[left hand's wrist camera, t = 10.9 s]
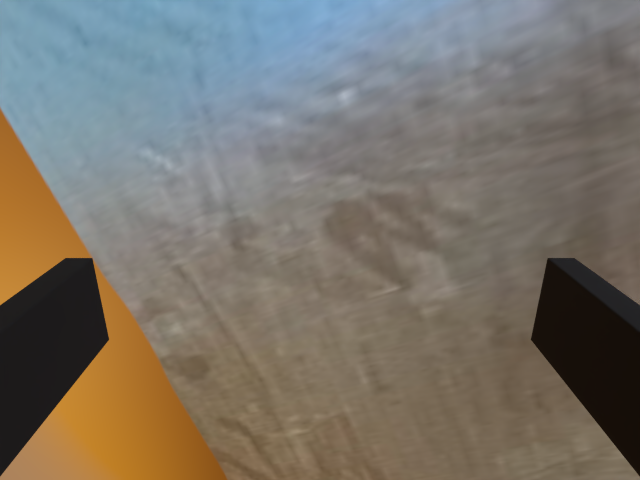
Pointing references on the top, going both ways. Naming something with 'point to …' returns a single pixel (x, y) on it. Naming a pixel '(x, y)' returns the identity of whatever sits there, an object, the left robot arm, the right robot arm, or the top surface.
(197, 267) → the top surface
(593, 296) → the left robot arm
